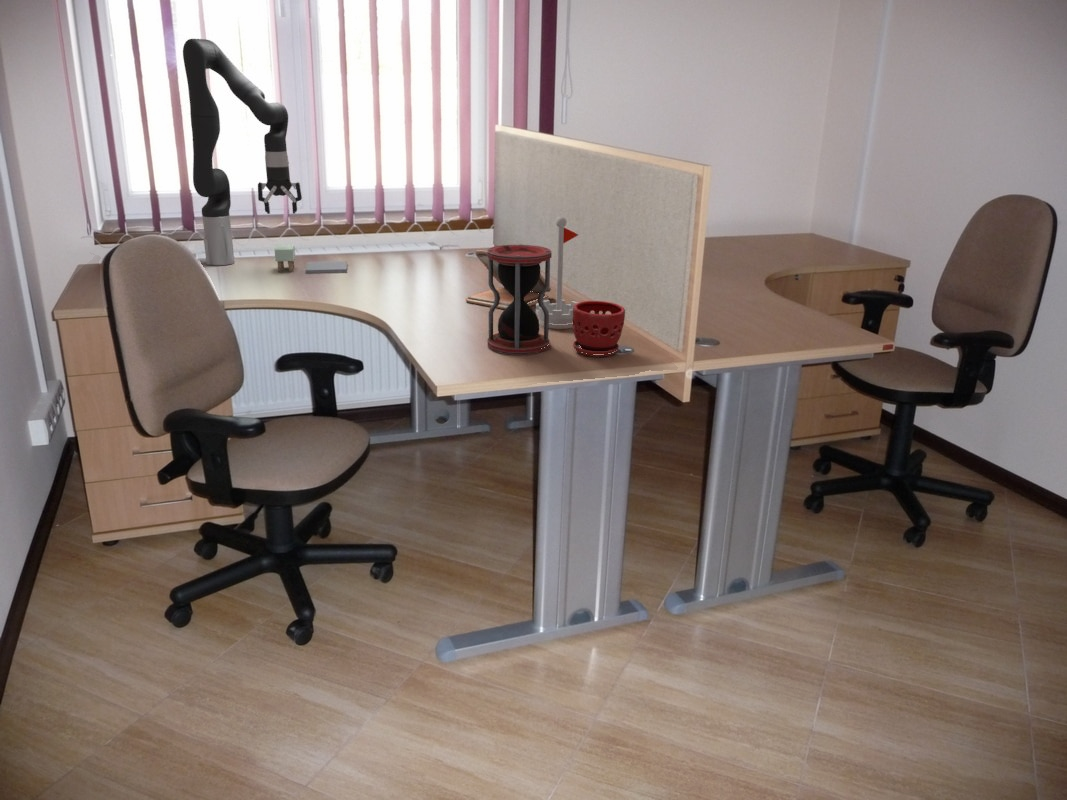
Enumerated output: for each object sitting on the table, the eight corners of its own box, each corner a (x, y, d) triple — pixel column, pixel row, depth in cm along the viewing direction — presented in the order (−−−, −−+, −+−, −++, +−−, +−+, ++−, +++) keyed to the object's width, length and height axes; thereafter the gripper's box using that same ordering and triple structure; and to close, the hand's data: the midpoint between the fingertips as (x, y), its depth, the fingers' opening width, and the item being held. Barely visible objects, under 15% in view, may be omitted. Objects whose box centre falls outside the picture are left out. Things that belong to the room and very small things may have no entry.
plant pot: (568, 358, 214) (570, 311, 209) (574, 343, 226) (576, 298, 222) (621, 361, 212) (623, 314, 208) (624, 346, 224) (626, 301, 220)
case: (553, 299, 271) (554, 248, 265) (516, 312, 254) (516, 259, 249) (501, 290, 281) (500, 241, 276) (461, 303, 265) (460, 251, 259)
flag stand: (543, 331, 236) (545, 221, 226) (530, 318, 248) (531, 213, 237) (587, 328, 240) (592, 219, 229) (572, 316, 251) (576, 212, 241)
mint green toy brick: (276, 272, 299) (274, 249, 296) (278, 267, 307) (276, 245, 304) (294, 272, 300) (292, 249, 297) (296, 266, 308) (294, 244, 305)
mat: (305, 273, 298) (305, 270, 298) (307, 265, 311) (307, 261, 311) (346, 272, 301) (346, 269, 301) (347, 264, 314) (347, 261, 313)
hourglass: (550, 337, 230) (552, 244, 221) (548, 356, 215) (551, 257, 206) (490, 336, 231) (489, 243, 222) (484, 354, 215) (484, 255, 207)
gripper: (254, 166, 286) (258, 215, 292) (298, 166, 289) (302, 214, 294) (256, 164, 293) (261, 212, 299) (299, 163, 296) (303, 211, 301)
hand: (281, 213), depth 297 cm, fingers open, 8 cm apart
